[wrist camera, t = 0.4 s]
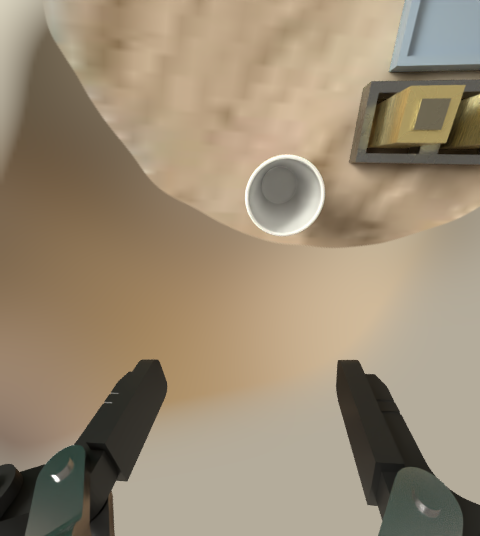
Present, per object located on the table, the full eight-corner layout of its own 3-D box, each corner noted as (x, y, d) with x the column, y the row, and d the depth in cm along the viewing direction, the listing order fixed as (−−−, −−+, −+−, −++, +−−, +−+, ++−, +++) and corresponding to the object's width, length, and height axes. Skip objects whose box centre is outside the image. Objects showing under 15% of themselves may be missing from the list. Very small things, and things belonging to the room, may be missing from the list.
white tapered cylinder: (270, 148, 31) (271, 135, 18) (313, 174, 32) (344, 181, 18) (246, 193, 34) (230, 213, 20) (285, 217, 35) (295, 251, 21)
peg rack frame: (363, 88, 28) (371, 81, 25) (513, 86, 26) (536, 78, 24) (349, 162, 31) (355, 162, 29) (481, 164, 29) (499, 164, 27)
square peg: (374, 106, 28) (413, 84, 20) (414, 105, 28) (469, 83, 20) (365, 147, 30) (398, 142, 22) (402, 148, 29) (449, 142, 22)
